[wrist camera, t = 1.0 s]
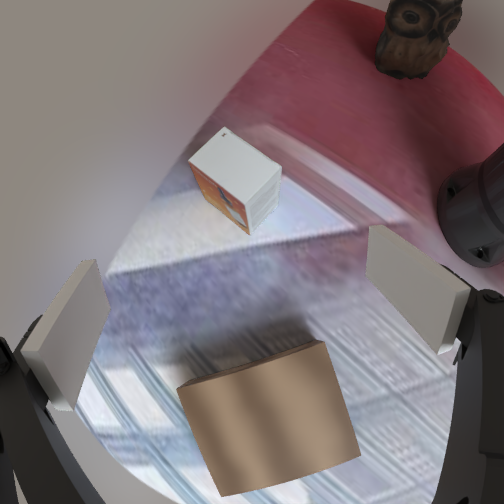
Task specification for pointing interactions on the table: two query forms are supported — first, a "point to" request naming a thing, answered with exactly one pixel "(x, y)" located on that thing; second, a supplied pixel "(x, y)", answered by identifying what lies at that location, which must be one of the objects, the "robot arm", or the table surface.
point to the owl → (416, 36)
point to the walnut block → (270, 420)
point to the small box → (237, 179)
